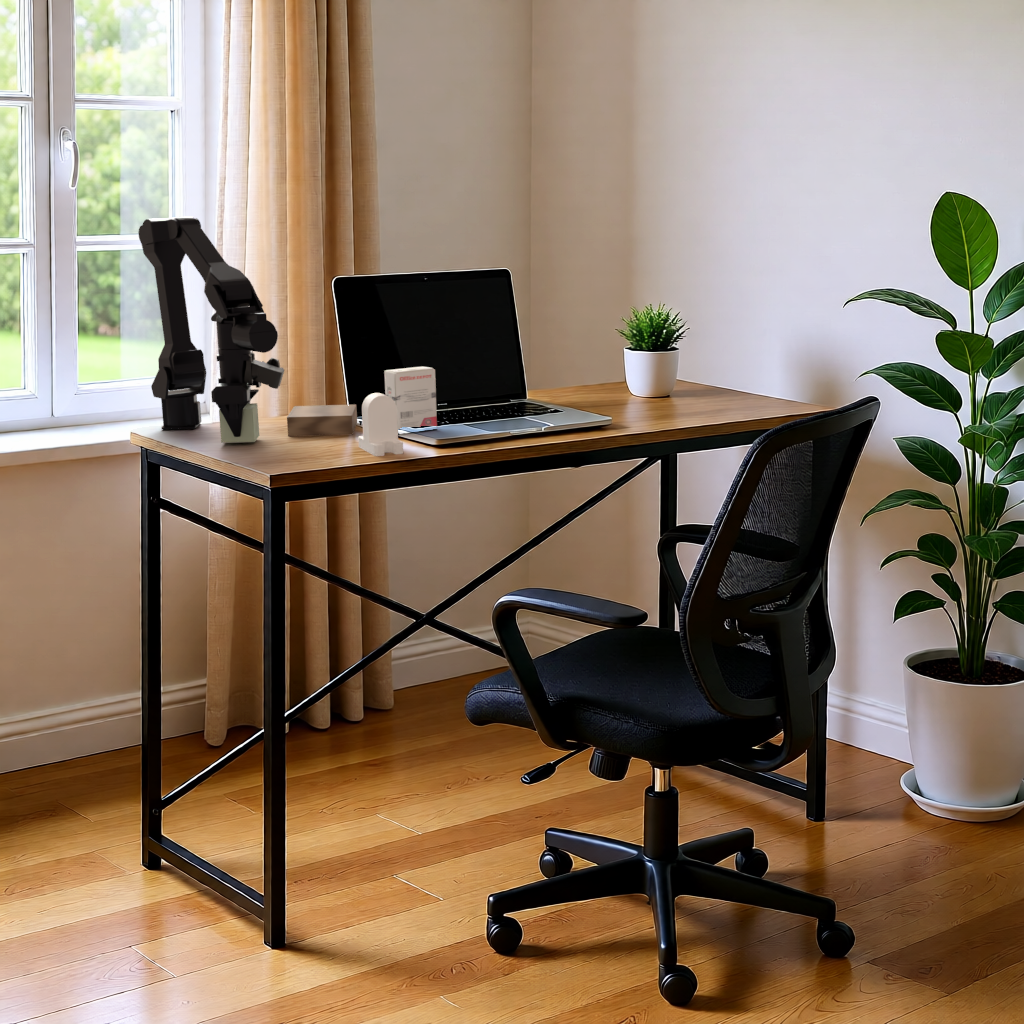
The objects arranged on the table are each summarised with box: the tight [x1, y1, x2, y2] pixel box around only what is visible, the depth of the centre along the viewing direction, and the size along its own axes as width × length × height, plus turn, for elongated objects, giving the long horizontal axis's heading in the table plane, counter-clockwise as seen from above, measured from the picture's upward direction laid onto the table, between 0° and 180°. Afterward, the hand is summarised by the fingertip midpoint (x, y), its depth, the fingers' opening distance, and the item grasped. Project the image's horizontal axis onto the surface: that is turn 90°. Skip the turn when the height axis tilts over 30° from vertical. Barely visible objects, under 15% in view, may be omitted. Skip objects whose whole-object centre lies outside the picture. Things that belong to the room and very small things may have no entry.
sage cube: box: [218, 402, 260, 444], centre depth 253 cm, size 6×6×6 cm
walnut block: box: [286, 403, 358, 437], centre depth 264 cm, size 12×12×4 cm
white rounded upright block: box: [357, 392, 404, 457], centre depth 243 cm, size 5×10×10 cm, turn 24°
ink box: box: [383, 365, 438, 429], centre depth 260 cm, size 9×5×12 cm, turn 121°
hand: (240, 433), depth 253 cm, fingers closed on sage cube, 6 cm apart
